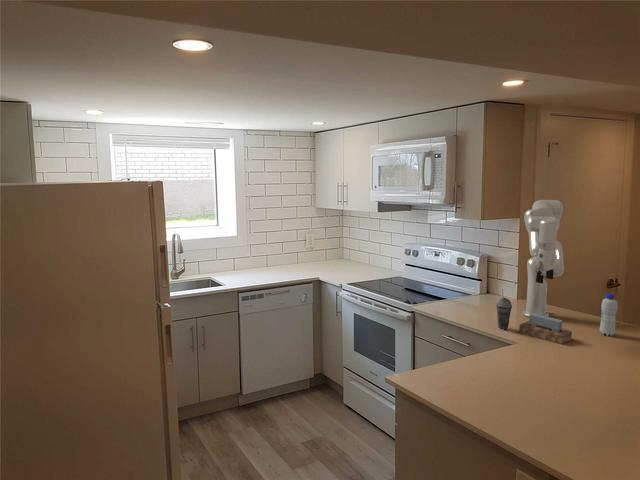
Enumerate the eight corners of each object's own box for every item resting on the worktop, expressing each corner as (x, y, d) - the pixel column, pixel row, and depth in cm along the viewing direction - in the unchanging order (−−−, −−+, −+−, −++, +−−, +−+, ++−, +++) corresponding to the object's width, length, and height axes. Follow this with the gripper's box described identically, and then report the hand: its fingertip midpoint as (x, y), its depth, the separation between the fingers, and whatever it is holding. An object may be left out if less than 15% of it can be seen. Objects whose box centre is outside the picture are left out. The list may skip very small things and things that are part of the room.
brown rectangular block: (519, 332, 229) (519, 324, 229) (529, 327, 235) (530, 320, 235) (561, 344, 214) (561, 335, 213) (571, 339, 220) (571, 330, 219)
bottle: (599, 335, 224) (602, 294, 221) (598, 331, 230) (601, 291, 227) (615, 337, 221) (619, 296, 218) (614, 333, 227) (618, 292, 223)
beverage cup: (508, 332, 230) (510, 292, 227) (493, 329, 234) (495, 290, 231) (512, 328, 236) (514, 289, 232) (497, 325, 240) (499, 286, 237)
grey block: (561, 339, 220) (562, 320, 219) (557, 340, 218) (558, 322, 217) (532, 330, 231) (533, 313, 230) (528, 332, 229) (529, 314, 228)
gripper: (546, 250, 214) (543, 286, 218) (563, 244, 225) (560, 278, 228) (530, 247, 220) (527, 282, 223) (548, 241, 230) (545, 275, 234)
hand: (544, 280), depth 226 cm, fingers open, 9 cm apart
